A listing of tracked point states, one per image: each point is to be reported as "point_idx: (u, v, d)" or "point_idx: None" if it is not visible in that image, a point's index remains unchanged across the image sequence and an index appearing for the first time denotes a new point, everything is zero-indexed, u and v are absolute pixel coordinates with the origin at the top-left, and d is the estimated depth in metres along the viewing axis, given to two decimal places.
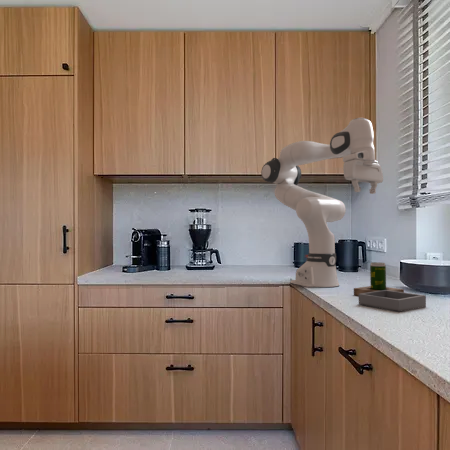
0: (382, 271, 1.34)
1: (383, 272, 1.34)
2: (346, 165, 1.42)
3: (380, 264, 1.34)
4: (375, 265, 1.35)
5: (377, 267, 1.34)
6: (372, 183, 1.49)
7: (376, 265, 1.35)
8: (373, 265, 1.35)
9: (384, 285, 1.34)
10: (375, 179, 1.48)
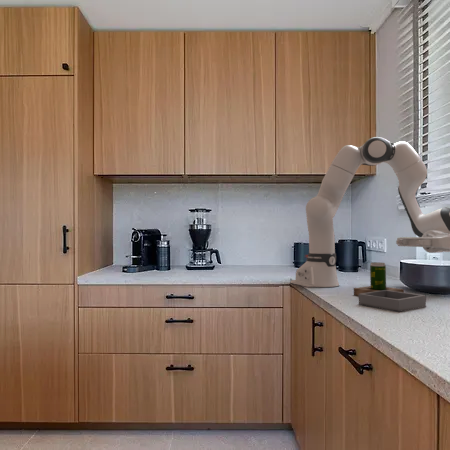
0: (382, 271, 1.34)
1: (383, 272, 1.34)
2: (449, 240, 1.38)
3: (380, 264, 1.34)
4: (375, 265, 1.35)
5: (377, 267, 1.34)
6: (404, 241, 1.49)
7: (376, 265, 1.35)
8: (373, 265, 1.35)
9: (384, 285, 1.34)
10: (408, 246, 1.49)
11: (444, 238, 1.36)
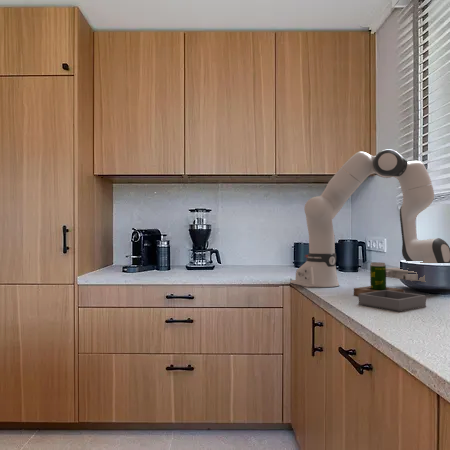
0: (382, 271, 1.34)
1: (383, 272, 1.34)
2: None
3: (380, 264, 1.34)
4: (375, 265, 1.35)
5: (377, 267, 1.34)
6: (391, 273, 1.46)
7: (376, 265, 1.35)
8: (373, 265, 1.35)
9: (384, 285, 1.34)
10: None
11: None
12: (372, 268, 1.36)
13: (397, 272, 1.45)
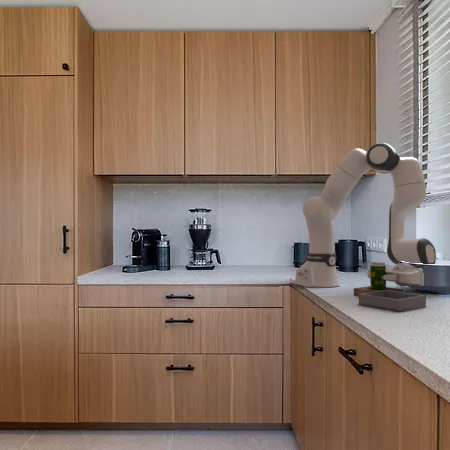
0: (382, 270, 1.34)
1: (383, 272, 1.34)
2: (418, 276, 1.31)
3: (380, 264, 1.34)
4: (375, 265, 1.35)
5: (377, 267, 1.34)
6: None
7: (376, 265, 1.35)
8: (373, 265, 1.35)
9: (384, 285, 1.34)
10: None
11: (413, 274, 1.30)
12: (372, 268, 1.36)
13: None
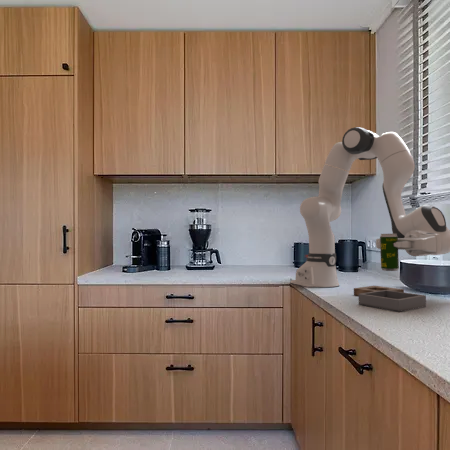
0: None
1: None
2: (434, 242, 1.17)
3: (392, 234, 1.20)
4: (386, 236, 1.21)
5: (388, 238, 1.20)
6: None
7: (387, 236, 1.21)
8: (384, 236, 1.21)
9: (396, 258, 1.20)
10: None
11: (429, 239, 1.16)
12: (383, 239, 1.22)
13: None
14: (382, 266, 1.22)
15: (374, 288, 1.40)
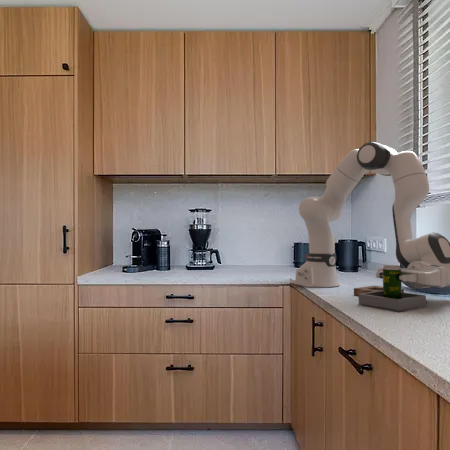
0: (398, 275, 1.15)
1: (398, 276, 1.16)
2: (439, 276, 1.13)
3: (395, 267, 1.16)
4: (389, 268, 1.16)
5: (392, 271, 1.16)
6: None
7: (390, 268, 1.16)
8: (387, 268, 1.17)
9: (400, 292, 1.16)
10: None
11: (433, 274, 1.11)
12: (385, 272, 1.17)
13: None
14: None
15: (374, 288, 1.40)
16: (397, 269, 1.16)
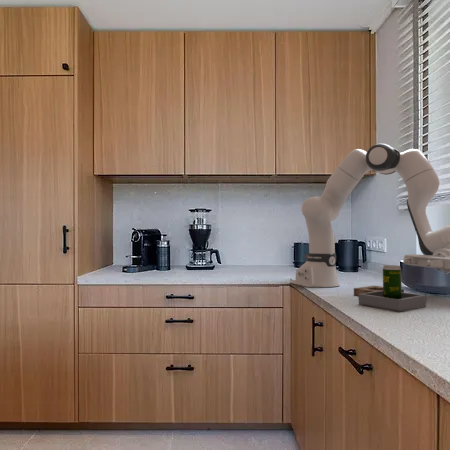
0: (398, 275, 1.15)
1: (398, 276, 1.16)
2: None
3: (395, 267, 1.16)
4: (389, 268, 1.16)
5: (392, 271, 1.16)
6: (412, 260, 1.32)
7: (390, 268, 1.16)
8: (387, 268, 1.17)
9: (400, 292, 1.16)
10: (416, 265, 1.32)
11: None
12: (385, 272, 1.17)
13: (419, 259, 1.31)
14: None
15: (374, 288, 1.40)
16: (397, 269, 1.16)
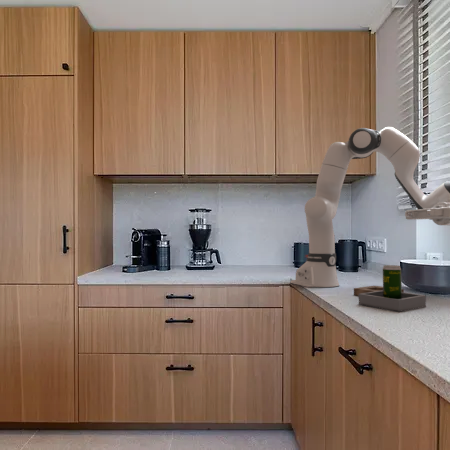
0: (398, 275, 1.15)
1: (398, 276, 1.16)
2: None
3: (395, 267, 1.16)
4: (389, 268, 1.16)
5: (392, 271, 1.16)
6: (413, 214, 1.42)
7: (390, 268, 1.16)
8: (387, 268, 1.17)
9: (400, 292, 1.16)
10: (417, 218, 1.42)
11: None
12: (385, 272, 1.17)
13: (419, 212, 1.41)
14: None
15: (374, 288, 1.40)
16: (397, 269, 1.16)
